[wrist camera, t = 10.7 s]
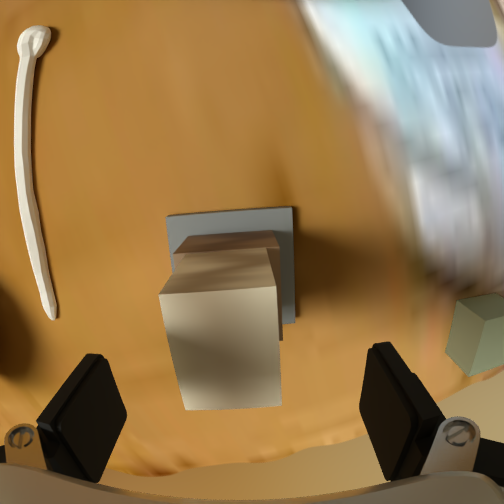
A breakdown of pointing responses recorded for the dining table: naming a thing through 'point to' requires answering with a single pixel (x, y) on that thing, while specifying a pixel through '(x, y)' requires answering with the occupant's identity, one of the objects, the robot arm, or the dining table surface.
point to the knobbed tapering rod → (29, 50)
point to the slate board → (244, 222)
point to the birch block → (224, 330)
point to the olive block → (477, 334)
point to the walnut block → (237, 243)
